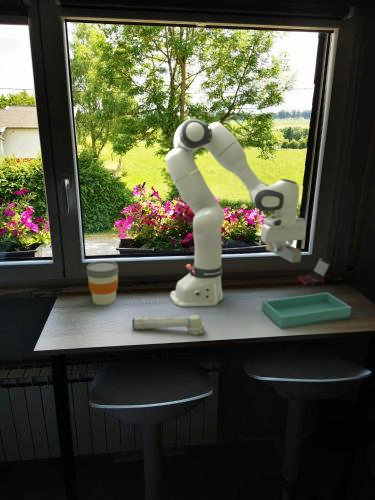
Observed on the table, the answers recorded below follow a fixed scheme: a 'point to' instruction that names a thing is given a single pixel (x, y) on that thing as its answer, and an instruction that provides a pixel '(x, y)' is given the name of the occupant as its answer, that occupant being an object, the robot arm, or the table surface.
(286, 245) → the strut
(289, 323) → the bin
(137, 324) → the white flashlight
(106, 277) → the reusable coffee cup
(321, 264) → the handheld gaming console
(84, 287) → the table surface
